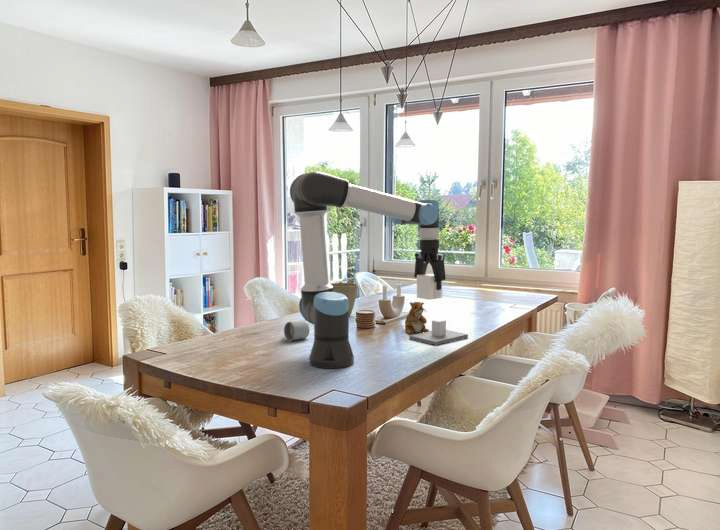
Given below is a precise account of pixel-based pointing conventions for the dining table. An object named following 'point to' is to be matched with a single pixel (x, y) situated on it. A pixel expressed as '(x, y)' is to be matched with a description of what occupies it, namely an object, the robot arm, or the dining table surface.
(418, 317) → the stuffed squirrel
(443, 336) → the post base
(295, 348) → the dining table surface
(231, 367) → the dining table surface
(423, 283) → the white rounded cube
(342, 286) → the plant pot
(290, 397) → the dining table surface
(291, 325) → the ceramic mug
